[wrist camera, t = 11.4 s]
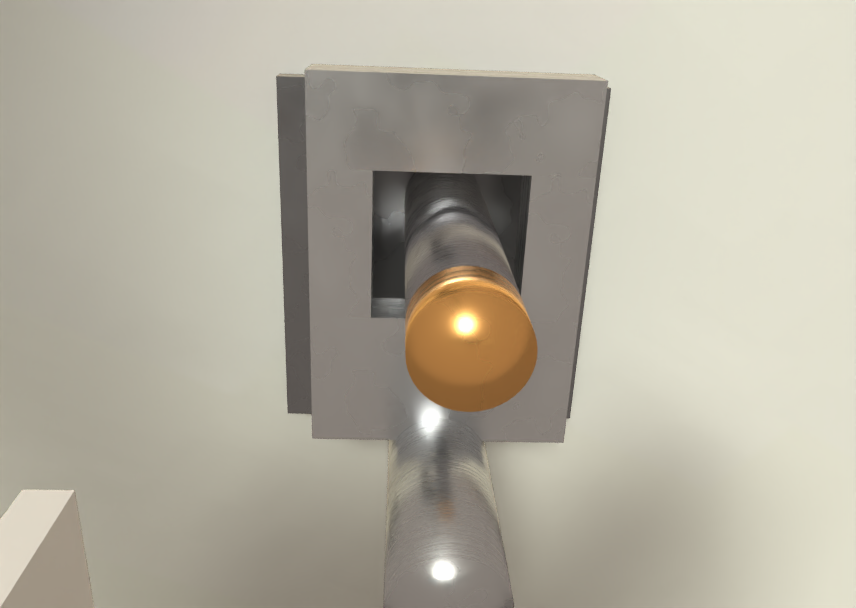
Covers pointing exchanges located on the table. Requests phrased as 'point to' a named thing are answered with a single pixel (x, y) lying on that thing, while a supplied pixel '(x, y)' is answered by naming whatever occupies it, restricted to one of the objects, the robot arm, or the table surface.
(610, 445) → the table surface
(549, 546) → the table surface
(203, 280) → the table surface
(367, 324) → the square hole plate
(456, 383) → the copper tipped metal rod
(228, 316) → the table surface
